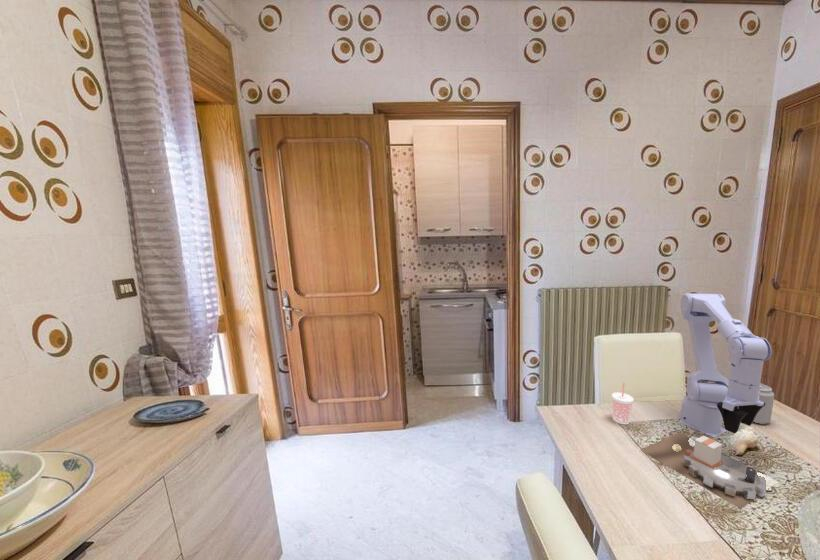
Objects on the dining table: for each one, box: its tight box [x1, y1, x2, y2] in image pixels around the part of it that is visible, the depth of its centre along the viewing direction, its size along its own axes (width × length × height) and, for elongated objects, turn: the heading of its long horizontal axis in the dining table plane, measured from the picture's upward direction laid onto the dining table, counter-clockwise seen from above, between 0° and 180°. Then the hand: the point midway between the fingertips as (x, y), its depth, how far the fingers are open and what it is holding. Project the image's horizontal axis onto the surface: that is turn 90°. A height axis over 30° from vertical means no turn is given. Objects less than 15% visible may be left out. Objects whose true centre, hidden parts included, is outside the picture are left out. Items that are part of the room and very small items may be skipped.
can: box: [752, 383, 775, 425], centre depth 106 cm, size 8×8×12 cm
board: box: [640, 432, 768, 510], centre depth 87 cm, size 22×19×1 cm
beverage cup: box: [611, 382, 634, 425], centre depth 107 cm, size 6×6×14 cm
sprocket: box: [683, 449, 767, 500], centre depth 82 cm, size 15×15×5 cm
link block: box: [693, 435, 723, 466], centre depth 85 cm, size 4×4×5 cm
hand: (737, 427), depth 87 cm, fingers open, 7 cm apart
